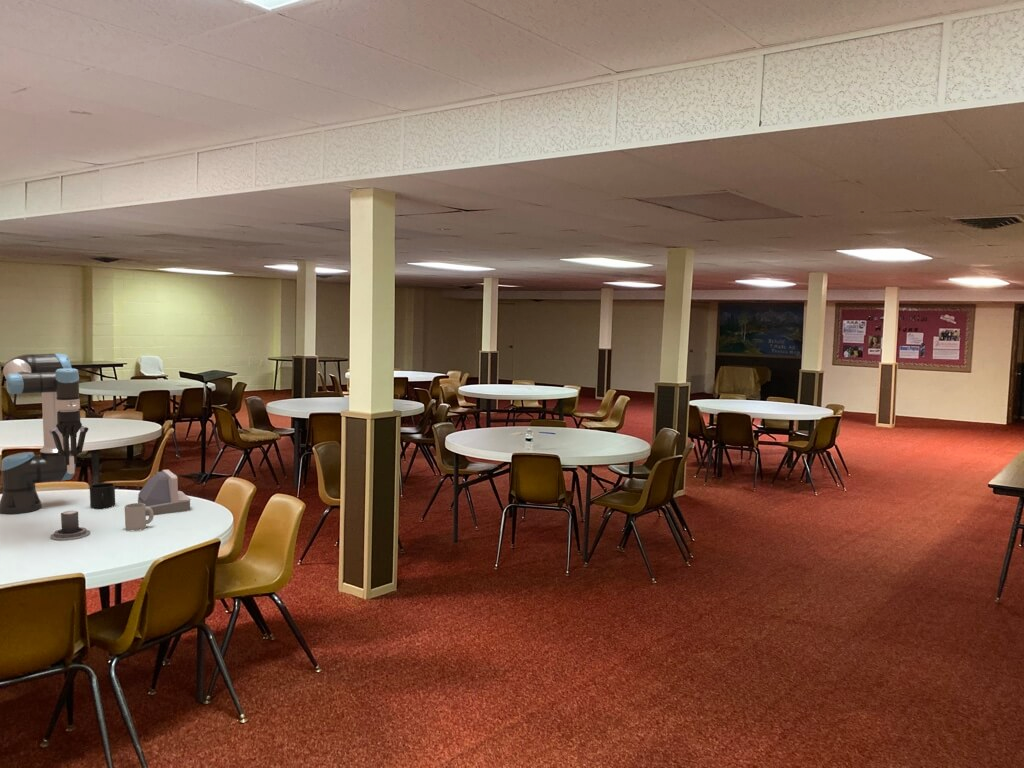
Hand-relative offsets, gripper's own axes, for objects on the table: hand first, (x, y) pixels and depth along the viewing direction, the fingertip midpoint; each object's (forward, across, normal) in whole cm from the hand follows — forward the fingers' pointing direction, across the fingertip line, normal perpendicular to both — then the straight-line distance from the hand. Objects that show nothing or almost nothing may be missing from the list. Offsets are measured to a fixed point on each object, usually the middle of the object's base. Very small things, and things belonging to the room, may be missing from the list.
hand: (70, 472), depth 300 cm
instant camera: (+24, +40, +11) cm, 48 cm away
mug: (+24, +23, +32) cm, 46 cm away
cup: (+23, +20, -11) cm, 32 cm away
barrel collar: (+23, -2, -4) cm, 23 cm away
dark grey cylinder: (+22, -2, -3) cm, 23 cm away
